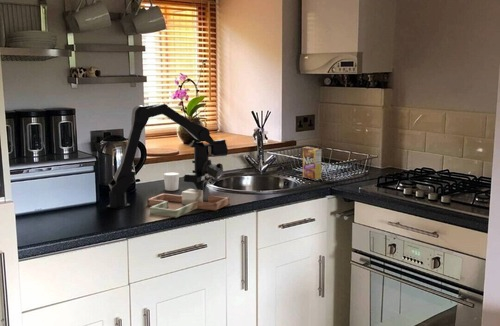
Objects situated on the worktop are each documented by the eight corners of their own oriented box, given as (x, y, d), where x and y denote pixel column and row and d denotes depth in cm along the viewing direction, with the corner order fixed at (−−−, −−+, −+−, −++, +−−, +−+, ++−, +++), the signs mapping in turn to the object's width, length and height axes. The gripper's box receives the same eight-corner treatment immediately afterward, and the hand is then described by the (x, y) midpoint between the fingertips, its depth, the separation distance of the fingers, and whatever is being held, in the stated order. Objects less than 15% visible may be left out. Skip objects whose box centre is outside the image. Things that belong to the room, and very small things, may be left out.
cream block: (195, 206, 219) (194, 193, 219) (182, 204, 222) (181, 191, 221) (203, 202, 225) (202, 190, 224) (190, 200, 227) (190, 188, 226)
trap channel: (195, 220, 199) (195, 213, 199) (132, 211, 211) (132, 205, 211) (229, 203, 222) (229, 197, 222) (170, 196, 234) (170, 190, 233)
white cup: (160, 189, 246) (160, 174, 245) (170, 186, 252) (169, 171, 251) (173, 191, 243) (173, 175, 242) (182, 188, 249) (182, 172, 248)
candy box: (301, 179, 268) (302, 147, 265) (308, 177, 270) (309, 146, 268) (314, 182, 261) (315, 149, 258) (321, 181, 263) (322, 148, 260)
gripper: (207, 162, 215) (207, 202, 218) (230, 155, 232) (230, 192, 235) (182, 160, 220) (183, 199, 223) (206, 153, 237) (206, 189, 239)
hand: (202, 195), depth 230 cm, fingers closed
